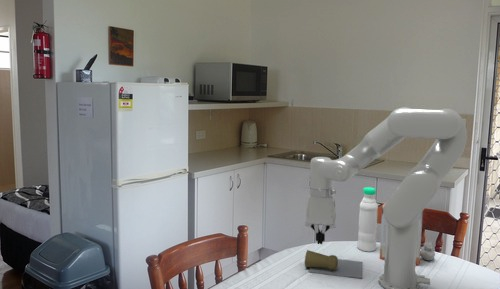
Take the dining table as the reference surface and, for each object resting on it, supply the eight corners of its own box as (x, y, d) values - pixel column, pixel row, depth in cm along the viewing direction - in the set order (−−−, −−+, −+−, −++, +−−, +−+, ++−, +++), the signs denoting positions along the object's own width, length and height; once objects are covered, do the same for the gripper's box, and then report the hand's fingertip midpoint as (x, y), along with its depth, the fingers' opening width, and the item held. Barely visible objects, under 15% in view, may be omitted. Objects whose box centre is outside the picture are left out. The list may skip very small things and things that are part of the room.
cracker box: (420, 260, 160) (423, 206, 158) (418, 266, 155) (422, 210, 152) (381, 253, 166) (384, 201, 164) (379, 258, 161) (382, 205, 158)
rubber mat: (362, 262, 157) (362, 261, 157) (362, 278, 144) (362, 277, 144) (313, 257, 162) (313, 256, 162) (309, 272, 148) (309, 271, 148)
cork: (304, 270, 151) (336, 275, 147) (304, 255, 149) (336, 260, 145) (308, 261, 156) (338, 266, 153) (308, 247, 155) (339, 251, 151)
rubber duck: (424, 262, 158) (426, 242, 157) (415, 255, 164) (416, 236, 163) (438, 262, 159) (439, 241, 158) (428, 255, 165) (429, 235, 164)
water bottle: (357, 250, 169) (360, 189, 166) (357, 244, 175) (360, 185, 172) (375, 253, 167) (378, 190, 163) (375, 246, 173) (379, 186, 170)
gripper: (343, 191, 150) (342, 241, 153) (301, 189, 154) (300, 237, 156) (342, 196, 143) (341, 248, 145) (298, 193, 147) (297, 244, 149)
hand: (320, 242), depth 151 cm, fingers closed
